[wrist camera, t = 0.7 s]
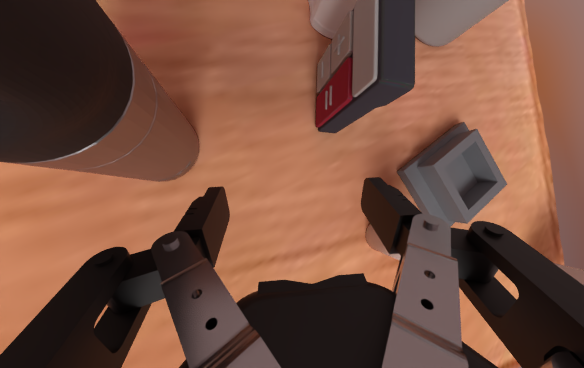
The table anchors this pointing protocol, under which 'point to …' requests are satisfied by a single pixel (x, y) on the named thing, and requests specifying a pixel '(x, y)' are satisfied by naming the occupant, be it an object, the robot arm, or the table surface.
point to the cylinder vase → (449, 18)
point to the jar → (329, 15)
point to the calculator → (366, 62)
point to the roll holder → (453, 176)
